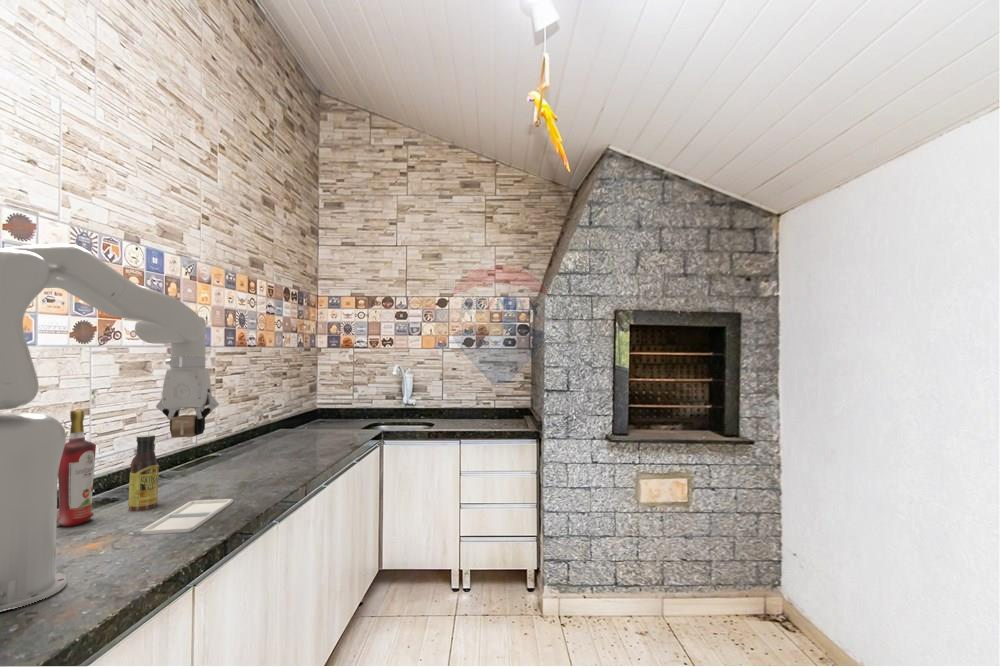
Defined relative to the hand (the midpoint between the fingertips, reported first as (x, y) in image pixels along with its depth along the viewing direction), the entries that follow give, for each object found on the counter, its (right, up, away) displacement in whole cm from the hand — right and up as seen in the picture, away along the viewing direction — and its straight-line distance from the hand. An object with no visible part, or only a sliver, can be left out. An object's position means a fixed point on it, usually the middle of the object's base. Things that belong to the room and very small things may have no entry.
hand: (187, 433), depth 121 cm
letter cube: (0, -1, 0) cm, 1 cm away
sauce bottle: (-16, -22, +6) cm, 28 cm away
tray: (+3, -21, -2) cm, 21 cm away
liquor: (-26, -22, -4) cm, 34 cm away
